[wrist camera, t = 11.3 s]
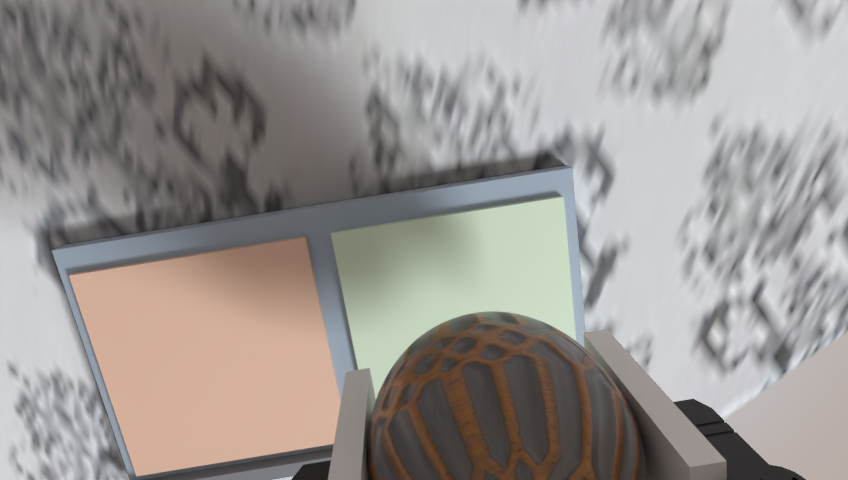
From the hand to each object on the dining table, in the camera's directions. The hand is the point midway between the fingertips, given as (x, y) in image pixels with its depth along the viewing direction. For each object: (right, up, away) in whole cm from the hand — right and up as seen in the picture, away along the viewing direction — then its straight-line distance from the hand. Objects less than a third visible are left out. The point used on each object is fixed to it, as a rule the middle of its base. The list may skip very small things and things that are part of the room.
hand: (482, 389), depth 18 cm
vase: (0, 0, 0) cm, 1 cm away
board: (-5, +1, +6) cm, 8 cm away
